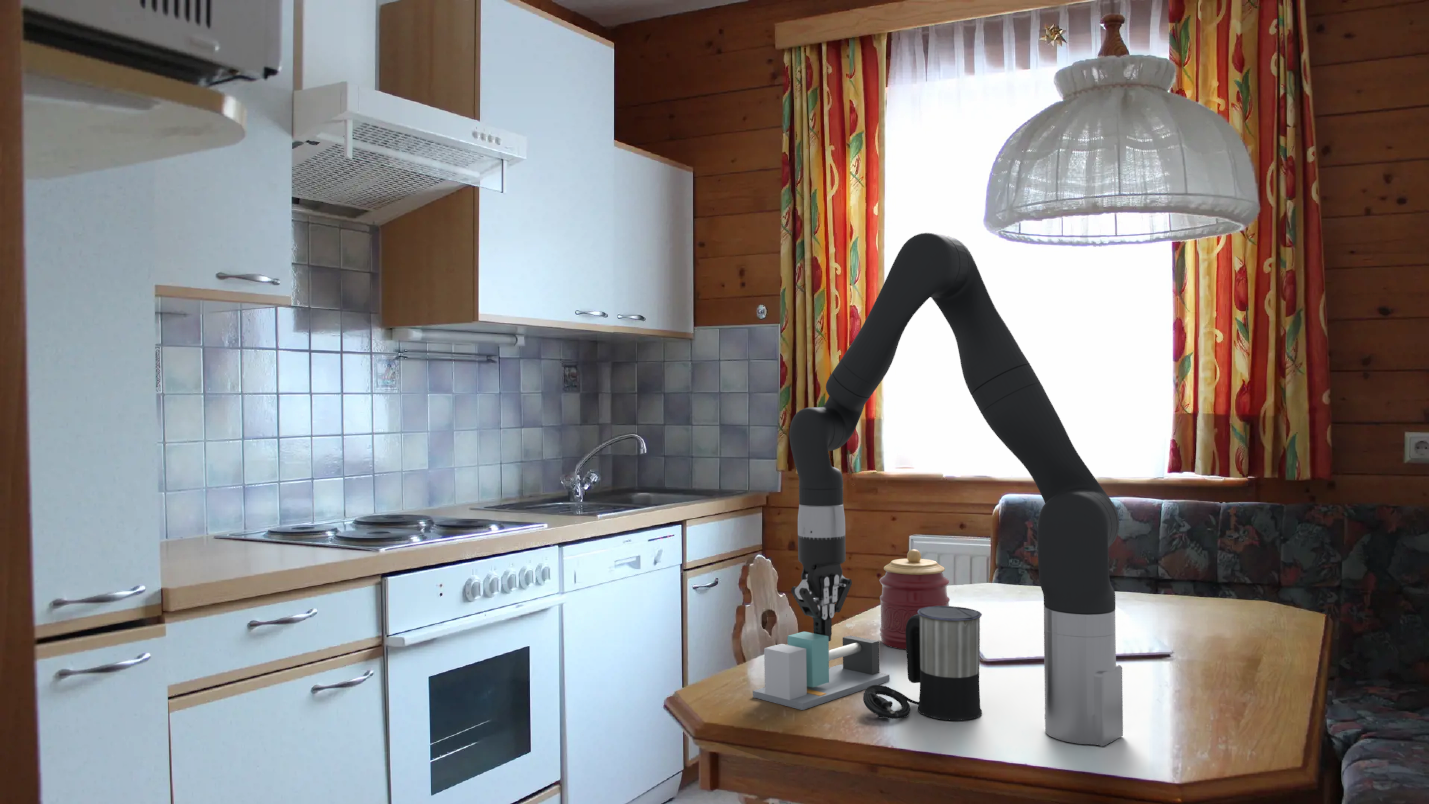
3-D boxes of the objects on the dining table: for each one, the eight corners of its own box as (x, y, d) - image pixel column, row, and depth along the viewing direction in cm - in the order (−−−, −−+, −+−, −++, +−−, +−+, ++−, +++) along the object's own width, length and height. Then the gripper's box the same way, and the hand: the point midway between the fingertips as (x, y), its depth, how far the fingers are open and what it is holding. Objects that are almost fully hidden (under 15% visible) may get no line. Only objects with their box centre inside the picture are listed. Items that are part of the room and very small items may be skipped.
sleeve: (829, 682, 163) (828, 636, 163) (812, 687, 161) (812, 640, 161) (804, 676, 167) (803, 631, 167) (788, 681, 164) (787, 635, 164)
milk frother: (995, 712, 153) (994, 611, 153) (932, 737, 142) (930, 628, 142) (915, 693, 163) (914, 598, 163) (850, 715, 152) (849, 613, 152)
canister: (931, 654, 188) (930, 556, 188) (867, 645, 195) (866, 550, 195) (961, 641, 198) (960, 547, 198) (899, 632, 206) (898, 542, 206)
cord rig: (889, 680, 170) (889, 631, 170) (802, 710, 155) (801, 656, 155) (840, 670, 178) (840, 623, 178) (752, 697, 162) (752, 645, 162)
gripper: (813, 539, 159) (814, 653, 159) (865, 530, 168) (867, 638, 168) (776, 535, 164) (777, 645, 164) (829, 527, 174) (830, 631, 174)
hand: (822, 641), depth 166 cm, fingers closed
